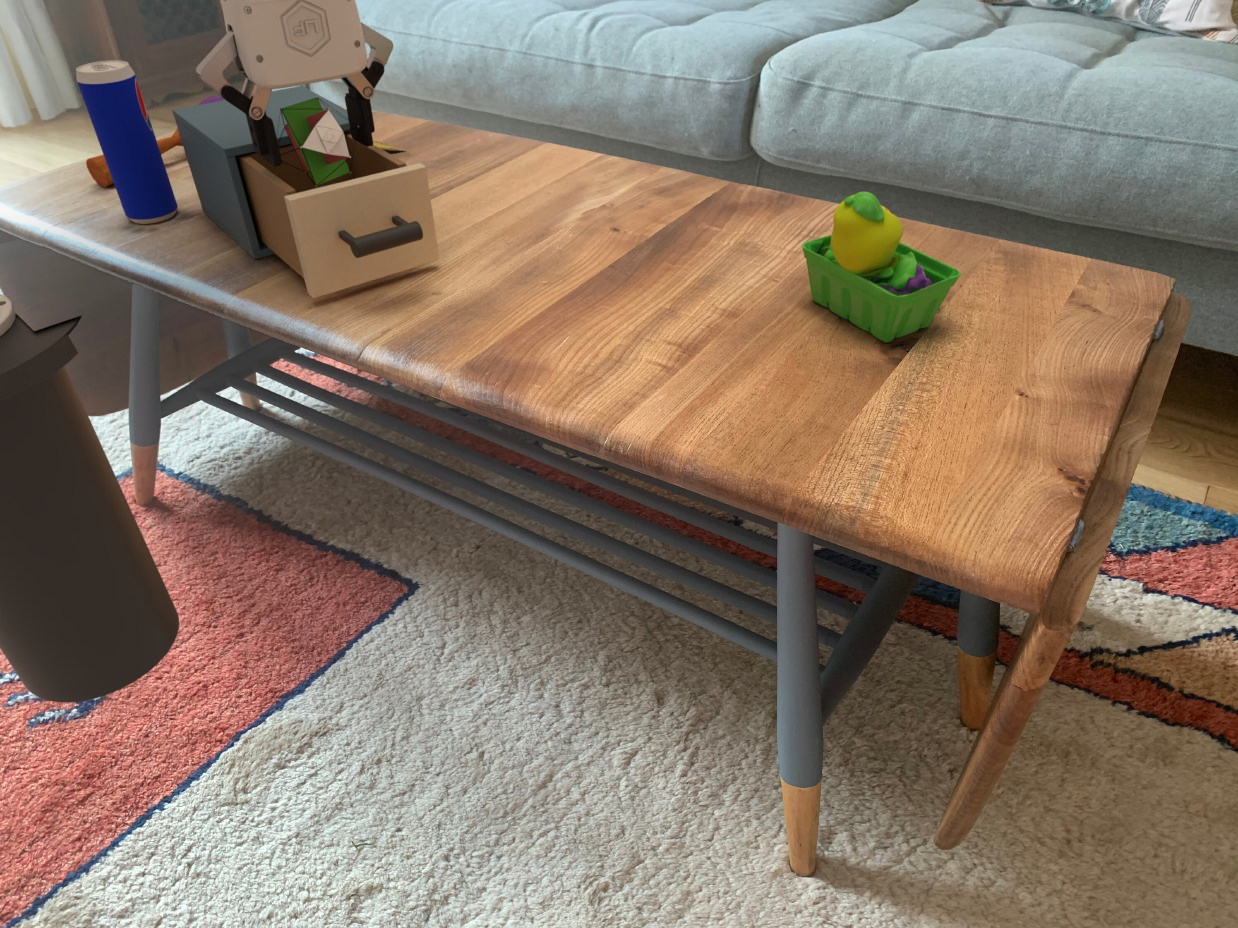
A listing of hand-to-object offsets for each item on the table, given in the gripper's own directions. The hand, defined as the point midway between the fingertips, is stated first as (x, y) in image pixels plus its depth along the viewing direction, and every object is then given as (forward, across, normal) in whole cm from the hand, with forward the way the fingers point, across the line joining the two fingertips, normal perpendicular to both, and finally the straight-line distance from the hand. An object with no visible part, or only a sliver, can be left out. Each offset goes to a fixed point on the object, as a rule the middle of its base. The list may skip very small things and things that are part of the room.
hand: (318, 151), depth 79 cm
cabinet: (+11, 0, +13) cm, 17 cm away
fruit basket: (+10, +30, -39) cm, 50 cm away
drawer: (+10, 0, -2) cm, 10 cm away
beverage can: (+11, -11, +23) cm, 28 cm away
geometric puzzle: (+3, 0, 0) cm, 3 cm away
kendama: (+11, -4, +39) cm, 41 cm away
